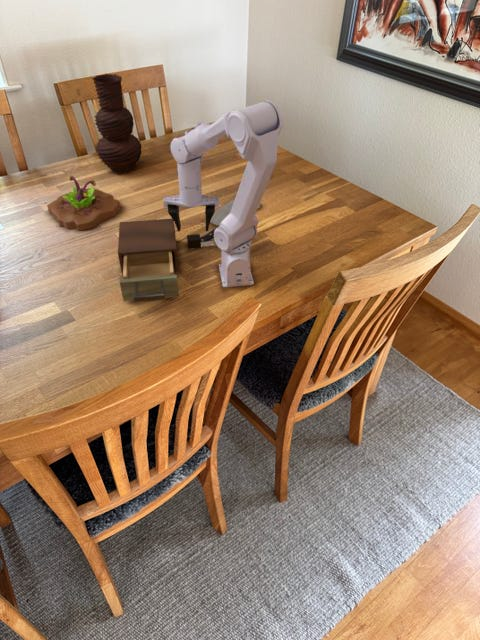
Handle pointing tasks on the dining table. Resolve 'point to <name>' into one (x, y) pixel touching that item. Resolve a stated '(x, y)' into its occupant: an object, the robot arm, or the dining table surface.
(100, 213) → the plant
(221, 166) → the dining table surface
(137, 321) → the dining table surface
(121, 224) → the cabinet
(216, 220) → the cleaver
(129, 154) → the vase
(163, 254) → the drawer
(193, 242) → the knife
